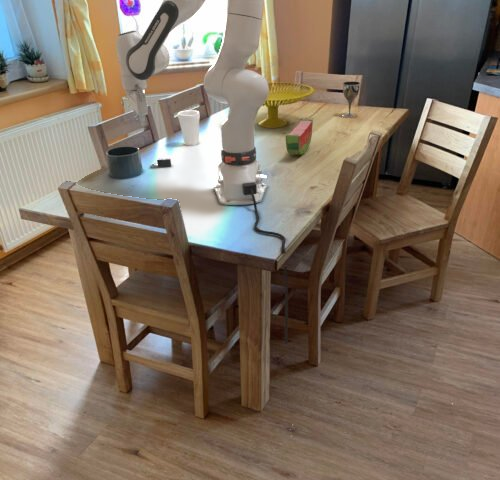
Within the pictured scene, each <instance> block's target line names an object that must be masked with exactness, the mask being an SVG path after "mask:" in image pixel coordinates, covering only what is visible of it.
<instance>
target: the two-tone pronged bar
mask: <svg viewBox="0 0 500 480" xmlns="http://www.w3.org/2000/svg"><path fill="white" fill-rule="evenodd" d="M171 160H172V159H171V157H163V158H157V159H156V162H155V163H151V164H150V169H158V168H171V167H172V161H171Z"/></svg>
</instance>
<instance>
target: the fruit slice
mask: <svg viewBox="0 0 500 480" xmlns="http://www.w3.org/2000/svg"><path fill="white" fill-rule="evenodd" d="M313 122H314V118H309V117H307V118H306V117H303V118H300V121H299V123H298V124H297V125H296V126H295V127H294V128H293V129H292V131H290V132H289V134H287V133H286V134H285V144H286V145H285V147H286V152H287V154H288V155H298V156H300V155H304V154H305V153H306V151H307V150H308V148H309V146H310V144H311V141H312V137H313V126H314V125H313V124H314V123H313Z"/></svg>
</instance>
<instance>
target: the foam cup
mask: <svg viewBox="0 0 500 480" xmlns="http://www.w3.org/2000/svg"><path fill="white" fill-rule="evenodd" d="M177 119H178V122H179V126H180V131H181V134H182V138H183V143H184V146H188V147H189V146H196V145H198V144H199V143H200V119H201V116H200V111H199V110H195V109H187V110H182V111H179V112H177Z"/></svg>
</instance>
